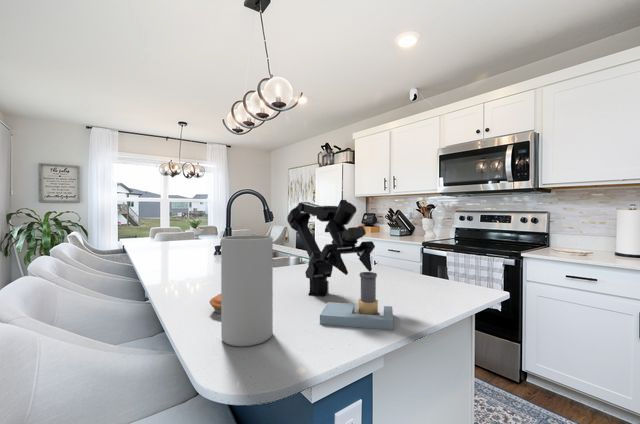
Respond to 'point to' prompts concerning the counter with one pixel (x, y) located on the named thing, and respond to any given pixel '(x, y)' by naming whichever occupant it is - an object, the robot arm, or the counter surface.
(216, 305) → the pie
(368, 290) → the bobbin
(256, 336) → the cylinder vase
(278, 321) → the counter surface
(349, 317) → the notched board
